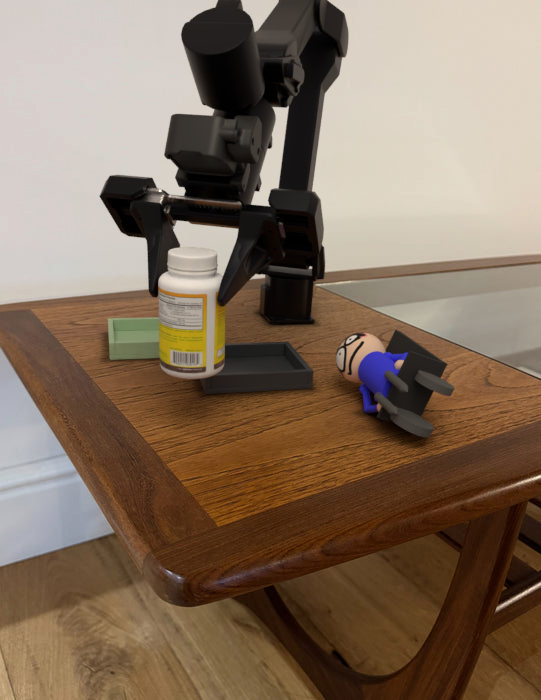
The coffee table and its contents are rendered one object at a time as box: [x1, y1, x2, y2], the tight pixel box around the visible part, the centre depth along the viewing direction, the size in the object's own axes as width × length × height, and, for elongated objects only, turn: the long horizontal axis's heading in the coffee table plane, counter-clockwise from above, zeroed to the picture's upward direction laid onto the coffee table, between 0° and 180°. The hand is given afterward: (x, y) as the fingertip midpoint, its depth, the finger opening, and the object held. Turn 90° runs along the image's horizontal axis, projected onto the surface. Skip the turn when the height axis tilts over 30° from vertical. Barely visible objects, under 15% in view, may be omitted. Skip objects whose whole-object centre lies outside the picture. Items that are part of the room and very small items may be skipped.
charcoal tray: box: [199, 341, 314, 395], centre depth 66 cm, size 11×9×2 cm
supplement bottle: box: [157, 246, 227, 380], centre depth 51 cm, size 6×6×10 cm
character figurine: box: [335, 329, 455, 438], centre depth 58 cm, size 8×7×15 cm
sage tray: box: [107, 316, 160, 361], centre depth 74 cm, size 11×9×2 cm
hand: (185, 299), depth 49 cm, fingers closed on supplement bottle, 5 cm apart
